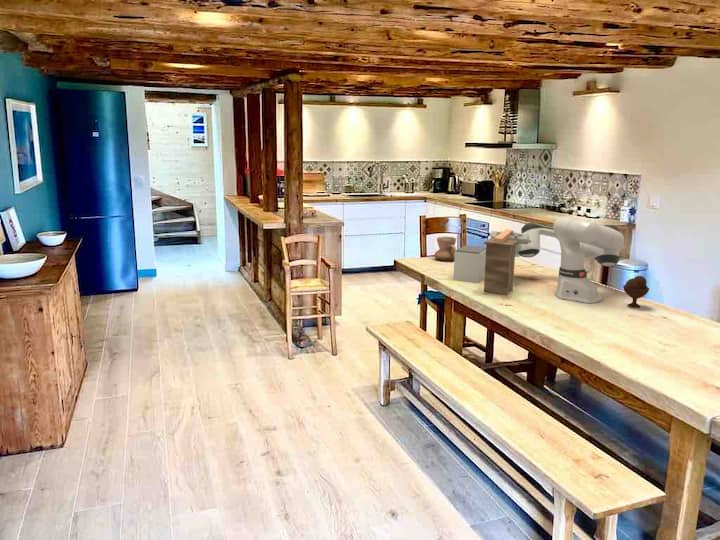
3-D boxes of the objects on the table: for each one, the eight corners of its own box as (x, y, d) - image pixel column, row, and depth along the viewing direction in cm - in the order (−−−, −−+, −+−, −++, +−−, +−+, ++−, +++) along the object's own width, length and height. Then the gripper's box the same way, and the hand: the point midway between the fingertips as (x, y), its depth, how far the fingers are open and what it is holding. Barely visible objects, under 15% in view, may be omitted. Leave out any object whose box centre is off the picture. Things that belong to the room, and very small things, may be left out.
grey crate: (463, 273, 346) (464, 245, 343) (487, 275, 340) (488, 247, 336) (453, 279, 331) (454, 250, 327) (478, 282, 324) (479, 252, 321)
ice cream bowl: (641, 303, 287) (645, 273, 284) (650, 310, 276) (653, 278, 273) (618, 302, 288) (621, 272, 285) (626, 309, 277) (629, 278, 274)
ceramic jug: (429, 258, 387) (430, 236, 383) (448, 256, 392) (449, 234, 388) (443, 264, 371) (444, 241, 367) (463, 262, 376) (464, 240, 372)
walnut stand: (488, 286, 317) (491, 237, 311) (515, 289, 311) (518, 240, 305) (481, 292, 305) (484, 242, 299) (508, 295, 299) (512, 244, 293)
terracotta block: (505, 233, 317) (505, 229, 316) (512, 234, 315) (512, 229, 314) (493, 243, 297) (494, 238, 296) (501, 243, 295) (502, 238, 294)
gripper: (530, 248, 319) (526, 239, 307) (492, 245, 328) (487, 236, 316) (532, 237, 321) (528, 228, 309) (494, 234, 330) (489, 224, 318)
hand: (507, 232), depth 312 cm, fingers closed on terracotta block, 4 cm apart
